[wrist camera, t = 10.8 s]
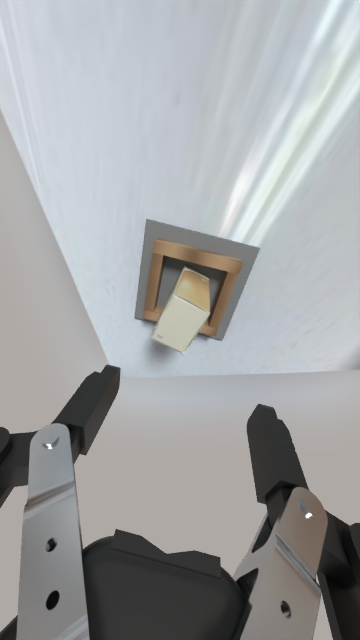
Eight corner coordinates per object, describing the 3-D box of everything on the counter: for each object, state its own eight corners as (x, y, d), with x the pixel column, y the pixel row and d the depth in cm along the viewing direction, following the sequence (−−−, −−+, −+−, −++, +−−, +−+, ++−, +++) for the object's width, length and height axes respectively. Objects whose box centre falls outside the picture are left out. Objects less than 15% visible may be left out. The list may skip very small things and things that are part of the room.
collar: (240, 259, 29) (242, 263, 27) (214, 328, 35) (215, 336, 33) (158, 238, 29) (154, 240, 27) (146, 310, 35) (142, 317, 33)
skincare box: (191, 309, 34) (182, 357, 23) (167, 297, 33) (147, 340, 22) (211, 276, 30) (212, 314, 20) (185, 262, 30) (172, 293, 19)
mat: (259, 247, 28) (259, 248, 28) (222, 339, 36) (222, 340, 36) (147, 219, 28) (146, 219, 28) (135, 316, 36) (134, 317, 36)
